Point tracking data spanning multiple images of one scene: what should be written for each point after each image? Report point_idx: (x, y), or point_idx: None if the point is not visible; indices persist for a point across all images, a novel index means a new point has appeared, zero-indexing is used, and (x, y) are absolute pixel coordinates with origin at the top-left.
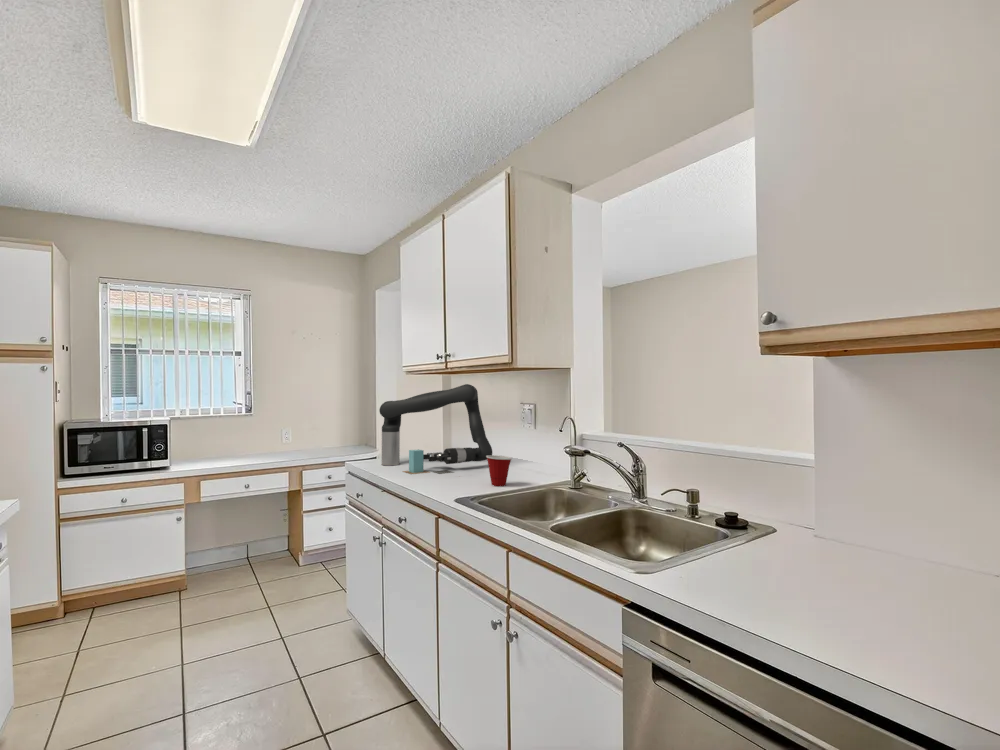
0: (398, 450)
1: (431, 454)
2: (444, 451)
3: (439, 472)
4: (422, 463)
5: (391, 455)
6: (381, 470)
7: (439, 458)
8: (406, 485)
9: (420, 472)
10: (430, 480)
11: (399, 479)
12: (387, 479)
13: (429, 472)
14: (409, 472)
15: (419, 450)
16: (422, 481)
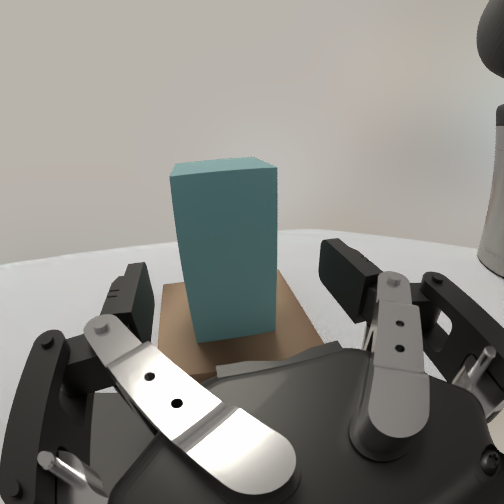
0: None
1: (376, 305)
2: (494, 483)
3: (103, 422)
4: (185, 284)
5: (494, 225)
6: (378, 243)
7: (70, 350)
8: (44, 263)
9: (190, 326)
10: (28, 324)
11: (135, 262)
12: (164, 243)
13: None
14: None
15: (189, 169)
16: (41, 300)
